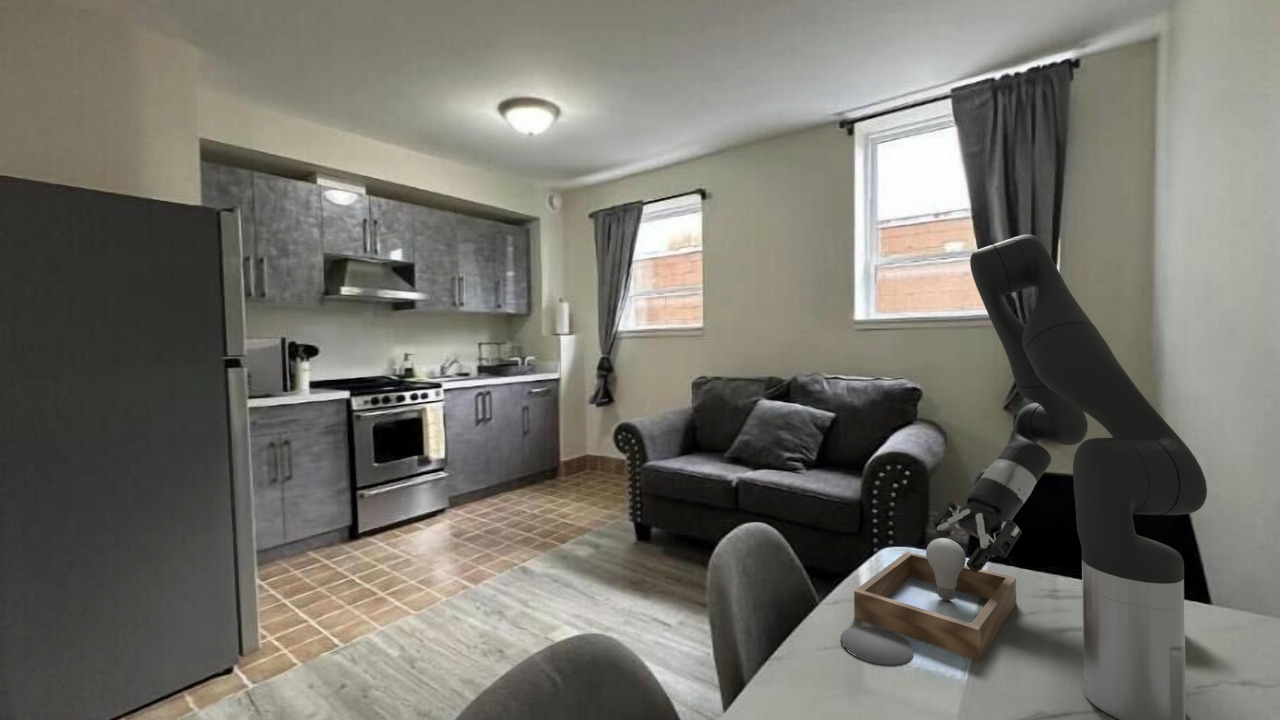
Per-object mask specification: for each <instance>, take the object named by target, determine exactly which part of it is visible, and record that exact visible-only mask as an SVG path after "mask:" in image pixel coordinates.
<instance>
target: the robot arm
mask: <svg viewBox="0 0 1280 720" xmlns="http://www.w3.org/2000/svg"><path fill="white" fill-rule="evenodd" d="M969 264H970V265H969V266H970V270H971V275H972V278H973V281H974V284H975V286H976V289H977V291H978V295H979V296H980V299H981V301H982V303H983V305H984V308H985V310H986V312H987V314H988V317H989V319H990V322H991V324H992V325H993V328H994V330H995V332H996V334H997V336H998V338H999V341H1000V342H1001V344H1002V346H1003V349H1004V351H1005V353H1006V357H1007V359H1008V362H1009V365H1010V370H1011V372H1012V376H1013V378H1014V382H1015V386H1016V388H1017V392H1018V393H1019V394H1020V396H1021V397H1022V398H1024V399H1027V400H1028V401H1029V400H1030V401H1032V403H1029V404H1027V405H1025V406H1024V407H1022V408H1021V409H1020V410H1019V411H1018V412H1017V415H1016V417H1015V419H1014V423H1013V427H1012V430H1011V432H1010V436H1009V439H1008V442H1007V444H1006V446H1005V447H1004V449H1002V450H1001V452H1000V454H999V455H998V457H997V458H996V459H995V460H994V461H993V462H992V464H991V465H989V466H988V467H987V468H986V470H985V471H984V473H983V474H982V475H981V477H980V478H979V479H978V480H977V482H975V483H976V484H974V485H973V487H972V488H971V490H970V491H969V493H968V494H967V498H966V499H967V501H966V503H965V504H963V505H962V506H959V505H958V504H956V503H955V502H954V501H952V500H950V501H948V502H947V503H946V504H945V505H944V506H943V508H942V509H941V510H940V511H939V512H938V513H937V514H936V515H935V517H934V518H933V519H932V521H931V524H932V525H933V526H934V528H935V529H936V532H935V533H934V535H933V536H932V537H931V538H930V540H929V541H928V543H927V546H928V545H929V544H930V543H931V542H932V541H933V540H935V539H938V538H947V539H951V538H952V537H954V536H957V535H958V536H962V535H965V534H966V535H969V536H974V537H976V538H977V539H979V544H980V545H979V546H980V547H978V546H977V548H976V549H975V550H974V551H973V553H972V554H971V556H970V557H969V558H968V559H967V560H966V562H965V566H968V567H969V569H970V570H971V571H973V572H978V571H980V570H983V569H984V568H985V565H987V562H988V561H989V560H990V559H991V558H994V557H995V556H996V557H1000V558H1001V559H1005V558H1007V557H1008V555H1009V554H1010V553H1011V550H1012V549H1013V547H1014V546H1015V544H1016V543H1017V541H1018V540H1019V538H1020V536H1021V534H1022V529H1020V528H1019V526H1018V525H1017V524H1016V523H1015V522H1014V521H1013V519H1014V517H1015V516H1016V515H1017V513H1018V512H1019V511H1020V509H1021V508H1022V507H1023V505H1024V504H1025V503H1026V502H1027V500H1028V498H1029V496H1030V495H1031V494H1032V492H1033V490H1034V488H1035V486H1036V484H1037V483H1038V482H1039V480H1040V479H1041V478H1042V476H1043V475H1044V474H1045V473H1046V470H1047V469H1048V468H1049V466H1050V464H1051V461H1052V456H1051V455H1050V453H1049V452H1048V450H1047V449H1046V448H1044V447H1043V446H1042V445H1040V444H1038V442H1039V441H1043V442H1047V443H1052V444H1057V445H1063V446H1075V445H1078V444H1079V443H1080V444H1079V446H1078V447H1077V449H1076V451H1075V453H1074V457H1073V463H1072V477H1073V478H1072V480H1073V491H1074V507H1075V516H1076V517H1075V519H1076V531H1077V535H1078V538H1079V542H1080V547H1081V569H1082V570H1081V574H1082V575H1081V576H1082V577H1081V579H1082V581H1081V582H1082V583H1081V587H1082V588H1081V589H1082V592H1081V593H1082V652H1083V653H1082V655H1083V658H1082V661H1083V665H1082V666H1083V667H1082V668H1083V672H1082V676H1083V677H1082V679H1083V692H1084V695H1085V697H1086V698H1087V699H1088V701H1090V703H1092V704H1093V705H1094V706H1095V707H1096V708H1098V709H1100V710H1101V711H1102V712H1103V713H1106V714H1108V715H1109V716H1111V717H1113V718H1115V719H1118V720H1187V716H1186V715H1187V711H1186V710H1187V705H1186V703H1187V701H1186V700H1187V699H1186V696H1187V694H1186V691H1187V690H1186V689H1187V688H1186V635H1185V630H1186V629H1185V628H1186V627H1185V564H1184V559H1183V556H1182V555H1181V553H1180V552H1179V551H1177V550H1176V549H1175V548H1173V547H1171V546H1169V545H1168V544H1165V543H1161V542H1159V541H1157V540H1153V539H1150V538H1148V537H1146V536H1141V535H1139V534H1137V532H1136V529H1135V522H1134V516H1133V515H1147V516H1148V515H1149V516H1150V515H1151V516H1179V515H1180V516H1181V515H1189V514H1192V513H1195V512H1197V511H1199V510H1201V508H1202V507H1203V506H1204V504H1205V502H1206V499H1207V494H1208V488H1207V481H1206V477H1205V475H1204V472H1203V469H1202V467H1201V465H1200V464H1199V462H1198V460H1197V458H1196V457H1195V455H1194V454H1193V453H1192V451H1191V450H1190V449H1189V447H1188V445H1187V444H1186V443H1185V442H1184V440H1183V439H1182V438H1181V437H1180V436H1179V435H1178V434H1177V433H1176V431H1175V430H1174V429H1173V428H1172V427H1171V426H1170V425H1169V423H1167V421H1166V420H1165V419H1164V418H1163V417H1162V416H1161V414H1160V413H1158V412H1157V410H1156V409H1155V408H1154V407H1153V405H1152V404H1151V403H1150V402H1149V400H1147V399H1146V398H1145V396H1144V395H1143V394H1142V393H1141V391H1140V389H1139V388H1138V387H1137V385H1136V384H1135V383H1134V381H1133V380H1132V379H1131V377H1130V376H1129V375H1128V373H1127V372H1126V371H1125V369H1124V368H1123V367H1122V365H1121V364H1120V362H1119V361H1118V359H1117V358H1116V357H1115V355H1114V352H1113V351H1112V349H1111V348H1110V346H1109V344H1108V343H1107V341H1106V339H1104V337H1103V336H1102V334H1101V333H1100V331H1099V330H1098V328H1097V327H1096V326H1095V325H1094V323H1093V321H1091V319H1090V318H1089V316H1088V315H1087V314H1086V312H1085V311H1084V310H1083V308H1082V307H1081V305H1080V303H1078V301H1077V300H1076V298H1075V297H1074V295H1073V294H1072V293H1071V291H1070V290H1069V287H1068V285H1067V284H1066V283H1065V280H1064V278H1063V276H1062V275H1061V273H1060V271H1059V269H1058V268H1057V266H1056V264H1055V262H1054V259H1053V258H1052V256H1051V254H1050V252H1049V251H1048V249H1047V248H1046V246H1045V245H1044V243H1043V242H1042V241H1041V240H1040V239H1039V238H1038V237H1037V236H1036V235H1033V234H1021V235H1018V236H1015V237H1011V238H1009V239H1006V240H1005V239H1004V240H1003V241H1000V242H996V243H994V244H991V245H988V246H985V247H982V248H979V249H976V250H975V251H973V252H972V253H971V255H970V258H969ZM1029 288H1036V289H1037V295H1036V300H1035V303H1034V306H1033V308H1032V310H1031V313H1030V315H1029V317H1028V318H1027V319H1028V320H1027V321H1026V324H1025V323H1024V322H1022V320H1021V319H1019V318H1018V317H1016V315H1015V314H1013V312H1012V311H1011V310H1010V309H1009V307H1008V306H1007V303H1006V302H1005V300H1004V296H1006V295H1009V294H1013V293H1016V292H1020V291H1022V290H1023V291H1024V290H1027V289H1029ZM1086 414H1087V415H1088V416H1090V417H1091V418H1092V419H1094V420H1095V421H1096V422H1098V423H1099V424H1100V425H1101V426H1103V428H1104V429H1105V430H1106V431H1107V432H1108V433H1109V435H1111V437H1094V438H1089V439H1086V440H1084V439H1085V437H1086V436H1087V433H1088V428H1089V427H1088V426H1089V425H1088V418H1087V416H1086ZM1083 440H1084V441H1083ZM1082 441H1083V442H1082ZM957 523H958V524H957ZM997 533H998V535H997V537H996V534H997Z"/></svg>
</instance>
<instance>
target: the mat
mask: <svg viewBox="0 0 1280 720" xmlns="http://www.w3.org/2000/svg"><path fill="white" fill-rule="evenodd" d="M840 641H842V643H841V645H842V644H843V645H844V646H845V647H846V648H847V649H848V650H849V651H850V652H851V653H853V654H855V655H856V656H858V657H861V658H863V659H865V660H868V661H870V662H869V663H871V662H875V663H874V664H876V663H879V664H878V665H881V664H884V665H883V666H896V665H903V664H905V663H908V662H909V661H911V660H912V658H913V657H914V648H913V645H912V644H911V642H910V641H909V640H907V639H906V638H905V637H903V636H901V634H899V633H897V632H894V631H891V630H888V629H885V628H882V627H879V626H871V625H870V626H869V625H859V626H853V627H849V628H847V629H845V630H844V631H843V632H842V633H841V635H840ZM843 645H842V646H843ZM851 653H850V654H851ZM856 656H855V657H856ZM858 657H857V658H858ZM865 660H864V661H865ZM868 661H867V662H868Z"/></svg>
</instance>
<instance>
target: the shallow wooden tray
mask: <svg viewBox="0 0 1280 720" xmlns="http://www.w3.org/2000/svg"><path fill="white" fill-rule="evenodd" d="M911 577H912V578H911ZM910 578H911V579H914V578H915V580H918V581H923V582H926V583H929V584H932V585H937V584H936V578H935V574H934V571H933V569H932V567H931V566H930V564H929V562H928V560H927V556H926V555H922V554H918V553H916V552H915V553H914V552H910V551H906V552H904V553H903V554H902V555H900V556H899V557H898V558H896V559H895V560H893V561H892V562H891V563H890V564H888V565H886V566H885V567H884V568H883V569H882V570H880V571H879V572H878V573H876V574H875V575H874V576H872V577H871V578H870V579H868V580H867V581H866V582H864V583H863V584H862V585H860V586H859V587H858V588H856V589H855V590H853V606H854V608H853V610H854V619H858V620H860V621H863V622H866V623H869V624H871V625H874V626H876V627H879V628H882V629H886V630H889V631H892V632H894V633H896V634H899V635H903V636H906V637H908V638H912V639H914V640H917V641H920V642H923V643H925V644H929V645H931V646H934V647H937V648H940V649H943V650H946V651H949V652H951V653H955V654H958V655H960V656H962V657H966V658H969V659H972V660H975V661H977V662H979V661H980V659H981V658H982V657H983V655H984V654H985V652H986V651H987V649H988V647H989V646H990V645H991V643H992V642H993V639H994V638H995V637H996V635H997V634H998V632H999V631H1000V629H1001V628H1002V626H1003V625H1004V623H1005V622H1006V620H1007V619H1008V617H1009V615H1010V614H1011V612H1012V611H1013V609H1014V608H1015V606H1016V604H1017V577H1013V576H1009V575H1006V574H1002V573H997V572H993V571H989V570H985V569H981V570H980V571H978V572H973V571H971V570H970V569H969V567H968V566H967V565H965V566H964V568H963V569H962V571H961V572H960V574H959V576H958V578H957V583H956V588H955V590H956V591H959V592H963V593H967V594H969V595H974V596H978V597H982V598H985V599H988V600H987V602H986V604H984V606H983V608H982V609H981V610H980V611H979V612H978V614H977V615H976V616H975V618H974V619H973V620H972V622H971V623H970V622H966V621H964V620H961V619H957V618H953V617H950V616H946V615H944V614H941V613H938V612H934V611H931V610H928V609H924V608H921V607H918V606H914V605H912V604H911V605H910V604H908V603H904V602H901V601H898V600H895V599H892V598H889V597H891V596H893V594H894V593H895V592H896V591H898V590H899V589H901V587H903V586H904V585H903V584H904V583H905V582H906V583H907V582H908V581H909V580H911V579H910ZM907 580H908V581H907ZM906 583H905V584H906Z"/></svg>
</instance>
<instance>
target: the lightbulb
mask: <svg viewBox="0 0 1280 720" xmlns="http://www.w3.org/2000/svg"><path fill="white" fill-rule="evenodd" d="M925 556H927V560H928V562H929V564H930V566H931V567H932V569H933V571H934V574H935V578H936V584H937V586H936V587H937V595H938V597H939V598H940V599H942V600H943V601H944V602H950V601H952V600H954V599H955V595H956V594H955V593H956V592H955V588H956V583H957V578H958V576H959V574H960V572H961V571H962V569H963V568H964V566H966V563H967V560H966V559H967V558H966V556H967V555H966V553H965V551H964V549H963V548H962V547H961V545H960V544H959V543H957V542H956V541H954V540H952V539H951V538H948V539H947V538H938V539H935V540H933V541H932V542H931V543H930V544H929V545H928V544H927V547H926V549H925ZM936 584H935V585H936Z"/></svg>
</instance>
